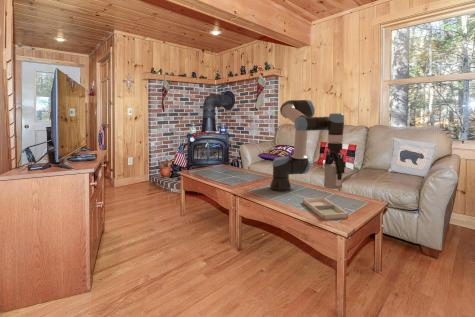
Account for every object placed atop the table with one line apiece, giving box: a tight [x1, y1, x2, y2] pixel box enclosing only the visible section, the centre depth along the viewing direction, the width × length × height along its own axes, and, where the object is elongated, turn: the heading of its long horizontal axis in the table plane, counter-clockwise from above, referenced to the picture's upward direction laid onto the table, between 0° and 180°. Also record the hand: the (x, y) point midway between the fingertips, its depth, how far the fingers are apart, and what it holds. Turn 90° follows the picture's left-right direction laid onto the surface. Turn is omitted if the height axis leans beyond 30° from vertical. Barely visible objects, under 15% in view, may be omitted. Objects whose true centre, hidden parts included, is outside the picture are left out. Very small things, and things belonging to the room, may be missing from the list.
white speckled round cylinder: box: [323, 162, 344, 190], centre depth 146 cm, size 10×10×12 cm
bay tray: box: [302, 197, 349, 220], centre depth 156 cm, size 27×14×2 cm, turn 9°
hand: (333, 182), depth 147 cm, fingers closed on white speckled round cylinder, 9 cm apart
